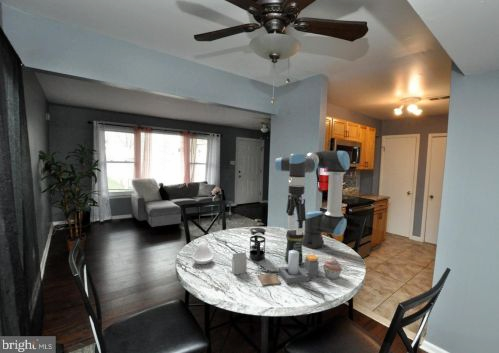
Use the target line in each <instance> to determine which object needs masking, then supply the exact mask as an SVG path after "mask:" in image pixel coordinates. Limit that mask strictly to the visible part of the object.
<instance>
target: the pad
mask: <svg viewBox="0 0 499 353" xmlns="http://www.w3.org/2000/svg"><path fill="white" fill-rule="evenodd" d="M257 278H258V280H259V282H260V283H261V285H262V287H266V286H275V285H282V282H281V280H280V279H279V277H278V276H277V275H276V274H275V273H267V274H266V273H265V274H258V275H257Z"/></svg>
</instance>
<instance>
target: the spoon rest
mask: <svg viewBox="0 0 499 353" xmlns="http://www.w3.org/2000/svg"><path fill="white" fill-rule="evenodd" d="M198 244H199V245H198V246H197V247H196V249H195V251H194V252H193V254H192V257H191V258H192V260H193V262H195V263H196V264H197V265H208V264H209V263H211V262H212V261H213V260H214V257H215V255H214V253H213V251H212V250H211V248H209V246H208V245H207V243H206V242H205V241H203V242H199V243H198Z"/></svg>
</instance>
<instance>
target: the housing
mask: <svg viewBox="0 0 499 353" xmlns="http://www.w3.org/2000/svg"><path fill="white" fill-rule="evenodd" d="M319 263H320V262H319V260H318V261H316V262H310V261H308V259H307V258H305V257H304V267H300V266H299V265H298V275H289V274H288V266H281V267H280V266H279V267H278V275H279V276H280V277H281V279H282V280H283V281H284V283H285V284H286V285H294V284H295V285H296V284H302V283H303V284H304V283H309V279H315V278H319Z"/></svg>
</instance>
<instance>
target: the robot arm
mask: <svg viewBox="0 0 499 353" xmlns="http://www.w3.org/2000/svg"><path fill="white" fill-rule="evenodd" d="M350 166H351V160H350V156H349V153H348V152H347V151H345V150H321V151H315V152H309V153H307V155H306V154H305V153H291V154H290V155H289V156H288V157H277V158H276V159H275V162H274V168H275V169H276V171H279V172H289V175H288V185H289V186H288V195H287V204H286V205H287V206H286V211H285V212H286V214H287V230H291V229H294V221H295V220H294V216H295V213H294V212H295V210H296V216H297V220H296V230H297V231H296V234H297V235H302V232H303V236H304V239H303V241H302V247H303V246H304V247H306V248H310V249H322V248H324V247H325V241H324V237H323V233H325V234H329V235H333V236H337V237H339V236H342V235H343V234H344V233H345V230H346V228H347V218H345V217H344V213H343V212H342V207H343V206H342V204H343V202H342V201H343V183H344V175H345V174H346V173H347V170H349V169H350ZM317 169H326V173H327V174H328V189H327V190H328V191H327V204H326V206H327V209H326V211H325V212H324V211H321V210H310V211H307V212H306V199H305V198H304V199H303V197H302V195H304V194H305V184H306V174H307V173H308V174H310V173H311V174H312V173H314V172H316V171H317ZM303 224H304V225H303ZM303 226H304V227H303ZM303 228H304V231H303Z"/></svg>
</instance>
